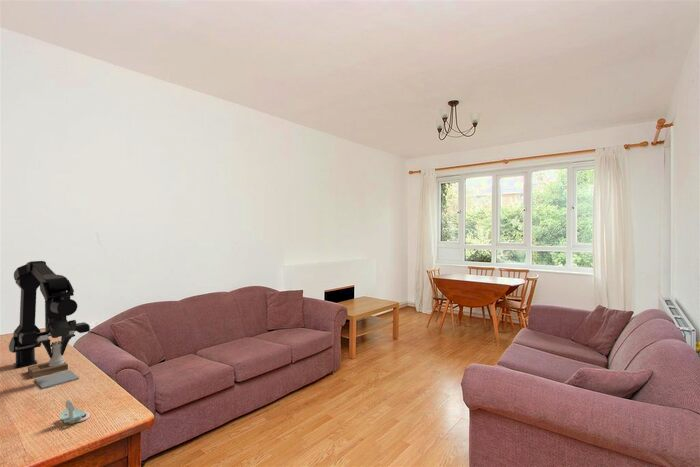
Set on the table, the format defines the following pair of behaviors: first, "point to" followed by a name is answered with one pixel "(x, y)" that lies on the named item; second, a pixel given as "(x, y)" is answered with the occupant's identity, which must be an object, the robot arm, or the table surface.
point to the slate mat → (56, 379)
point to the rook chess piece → (56, 354)
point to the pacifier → (73, 414)
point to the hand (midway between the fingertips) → (56, 356)
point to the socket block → (45, 369)
